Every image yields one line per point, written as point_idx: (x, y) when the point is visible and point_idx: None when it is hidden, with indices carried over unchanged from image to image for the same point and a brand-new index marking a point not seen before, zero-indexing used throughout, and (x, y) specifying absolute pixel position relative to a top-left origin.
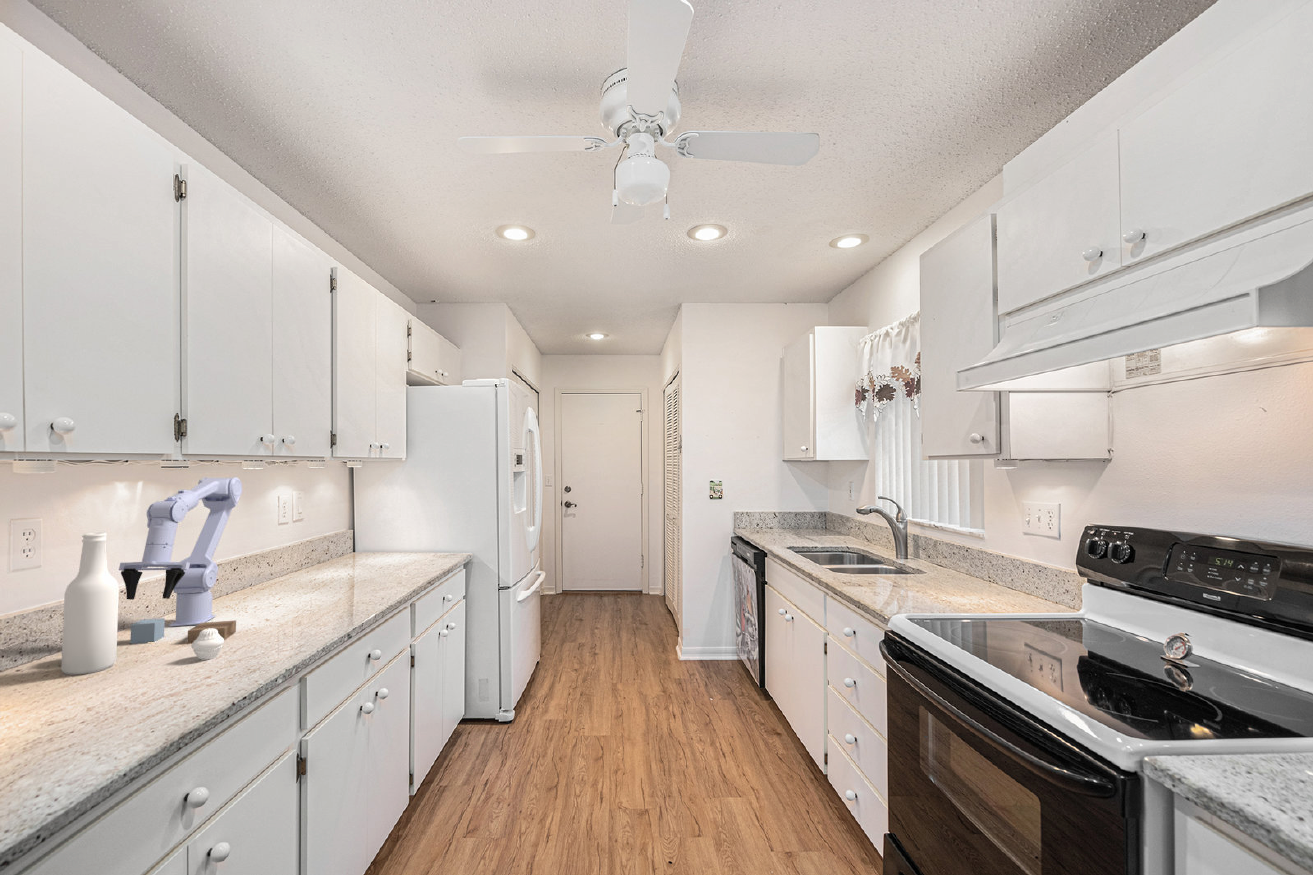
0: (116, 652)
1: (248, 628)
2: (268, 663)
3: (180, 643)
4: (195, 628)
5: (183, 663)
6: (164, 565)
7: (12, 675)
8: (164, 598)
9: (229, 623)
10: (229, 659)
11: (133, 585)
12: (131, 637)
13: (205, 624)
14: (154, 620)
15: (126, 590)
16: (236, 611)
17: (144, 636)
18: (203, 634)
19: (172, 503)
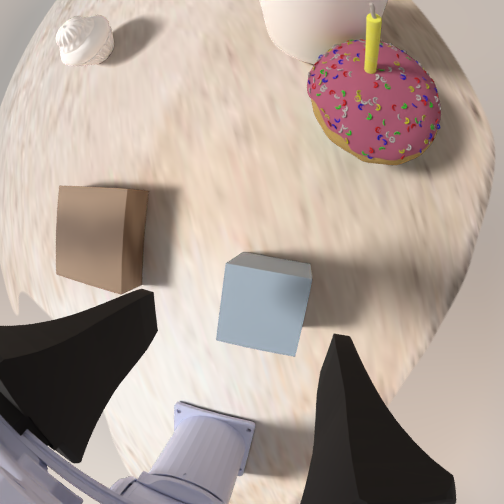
0: (267, 25)
1: (66, 292)
2: (50, 29)
3: (165, 200)
4: (115, 215)
5: (136, 26)
6: (27, 469)
7: (462, 73)
8: (153, 309)
9: (59, 240)
10: None
11: (328, 426)
12: (307, 267)
13: (104, 262)
14: (241, 315)
15: (365, 371)
16: None
17: (268, 260)
18: (77, 16)
19: None
